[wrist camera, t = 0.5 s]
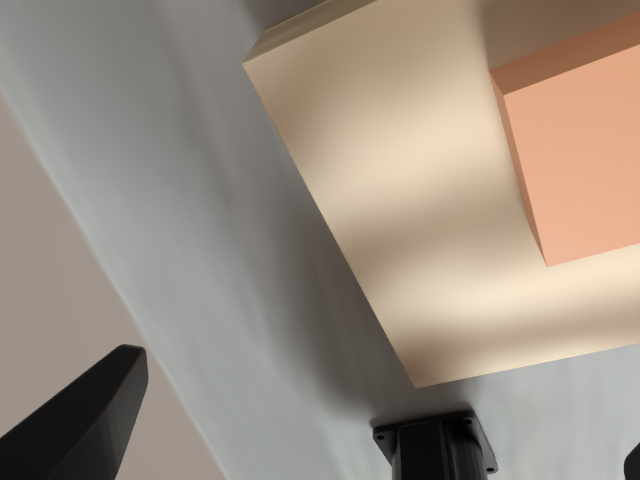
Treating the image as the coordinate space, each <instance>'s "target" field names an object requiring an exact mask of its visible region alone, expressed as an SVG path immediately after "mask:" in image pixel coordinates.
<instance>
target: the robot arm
mask: <svg viewBox="0 0 640 480" xmlns="http://www.w3.org/2000/svg"><path fill="white" fill-rule="evenodd" d="M147 385H148V366H147V355H146V350H145V349H144V348H143V347H140V346H134V345H128V344H122V345H120V346H118V347H116V348H115V349H114V350H112V351H111V352H110V353H109V354H108V355H106V356H105V357H104V358H102V359H101V360H100V361H98V362H97V363H96V364H95V365H93V366H92V367H91V368H89V369H88V370H87V371H86V372H84V373H83V374H82V375H80V376H79V377H78V378H77V379H75V380H74V381H73V382H71V383H70V384H69V385H68V386H66V387H65V388H64V389H62V390H61V391H60V392H59V393H57V394H56V395H55V396H53V397H52V398H51V399H50V400H48V401H47V402H46V403H44V404H43V405H42V406H41V407H39V408H38V409H37V410H35V411H34V412H33V413H32V414H30V415H29V416H28V417H27V418H25V419H24V420H23V421H21V422H20V423H19V424H18V425H16V426H15V427H14V428H12V429H11V430H10V431H9V432H7V433H6V434H5V435H3V436H2V437H1V438H0V480H115V478H116V475H117V473H118V470H119V467H120V465H121V462H122V459H123V456H124V453H125V451H126V447H127V445H128V442H129V439H130V436H131V433H132V430H133V427H134V424H135V421H136V418H137V415H138V413H139V409H140V407H141V404H142V401H143V398H144V395H145V392H146V389H147ZM373 439H374V441H375V442H376V444H377V445H378V447H379V448H380V450H381V451H382V453H383V454H384V456H385V457H386V459H387V460H388V462H389V463H390V465H391V466H392V480H488V478H487V474H493V473H496V472H497V471H498V466H497V462H496V460H495V458H494V455H493V453H492V451H491V449H490V447H489V444H488V442H487V440H486V438H485V435H484V433H483V431H482V429H481V427H480V424H479V422H478V420H477V418H476V416H475V414H474V413H473V412H470V411H463V412H458V413H453V414H447V415H442V416H436V417H431V418H425V419H420V420H414V421H409V422H404V423H398V424H393V425H387V426H382V427H377V428H375V429H373ZM624 475H625V480H640V443H639V444H638V445H637V446H636V447H635V448H634V449H633V450H632V451H631V452H630V453H629V455H628V456H627V457H626V459H625V461H624Z"/></svg>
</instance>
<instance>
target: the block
mask: <svg viewBox="0 0 640 480" xmlns="http://www.w3.org/2000/svg"><path fill="white" fill-rule="evenodd" d="M489 74H490V78H491V82H492V85H493V89H494V93H495V97H496V101H497V104H498V108H499V112H500V116H501V120H502V123H503V127H504V131H505V135H506V138H507V142H508V146H509V150H510V154H511V157H512V161H513V165H514V169H515V172H516V176H517V180H518V184H519V188H520V191H521V195H522V199H523V203H524V207H525V210H526V214H527V218H528V222H529V225H530V229H531V232H532V234H533V237H534V239H535V241H536V243H537V246H538V248H539V250H540V252H541V255H542V257H543V259H544V261H545V264H546V266H547V267H550V266H554V265H558V264H562V263H566V262H570V261H573V260H577V259H581V258H585V257H589V256H593V255H596V254H600V253H604V252H608V251H612V250H615V249H619V248H623V247H627V246H631V245H635V244H638V243H640V11H639V12H636V13H634V14H631V15H629V16H626V17H624V18H621V19H618V20H616V21H613V22H611V23H608V24H606V25H603V26H601V27H598V28H596V29H593V30H590V31H588V32H585V33H583V34H580V35H578V36H575V37H573V38H570V39H568V40H565V41H563V42H560V43H557V44H555V45H552V46H550V47H547V48H545V49H542V50H540V51H537V52H535V53H532V54H530V55H527V56H524V57H522V58H519V59H517V60H514V61H512V62H509V63H507V64H504V65H502V66H499V67H497V68H494V69H491V70H489Z"/></svg>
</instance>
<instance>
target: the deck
mask: <svg viewBox="0 0 640 480" xmlns="http://www.w3.org/2000/svg"><path fill="white" fill-rule="evenodd" d="M639 11H640V0H326V1H324V2H322V3H320V4H318V5H316V6H314V7H312V8H310V9H308V10H306V11H304V12H302V13H300V14H298V15H296V16H294V17H292V18H289V19H287V20H285V21H283V22H281V23H279V24H277V25H275V26H273V27H271V28H269V29H267V30H265V31H264V33H263V34H262V36H261V37H260V39H259V40H258V41H257V43H256V44H255V46H254V47H253V49H252V50H251V51H250V53H249V54H248V56H247V57H246V59H245V60H244V61H243V63H242V66H243V68H244V70H245V71H246V73H247V75H248V77H249V79H250V81H251V83H252V85H253V86H254V88H255V90H256V92H257V94H258V96H259V98H260V99H261V101H262V103H263V105H264V107H265V109H266V111H267V113H268V114H269V116H270V118H271V120H272V122H273V124H274V126H275V128H276V129H277V131H278V133H279V135H280V137H281V139H282V141H283V143H284V144H285V146H286V148H287V150H288V152H289V154H290V156H291V158H292V159H293V161H294V163H295V165H296V167H297V169H298V171H299V173H300V174H301V176H302V178H303V180H304V182H305V184H306V186H307V187H308V189H309V191H310V193H311V195H312V197H313V199H314V201H315V202H316V204H317V206H318V208H319V210H320V212H321V214H322V216H323V217H324V219H325V221H326V223H327V225H328V227H329V229H330V231H331V232H332V234H333V236H334V238H335V240H336V242H337V244H338V246H339V247H340V249H341V251H342V253H343V255H344V257H345V259H346V261H347V262H348V264H349V266H350V268H351V270H352V272H353V274H354V275H355V277H356V279H357V281H358V283H359V285H360V287H361V289H362V290H363V292H364V294H365V296H366V298H367V300H368V302H369V304H370V305H371V307H372V309H373V311H374V313H375V315H376V317H377V319H378V320H379V322H380V324H381V326H382V328H383V330H384V332H385V334H386V335H387V337H388V339H389V341H390V343H391V345H392V347H393V349H394V350H395V352H396V354H397V356H398V358H399V360H400V362H401V363H402V365H403V367H404V369H405V371H406V373H407V375H408V377H409V378H410V380H411V382H412V384H413V386H414V388H415V389H416V388H421V387H426V386H431V385H436V384H441V383H446V382H451V381H455V380H460V379H465V378H470V377H475V376H480V375H485V374H490V373H494V372H499V371H504V370H509V369H514V368H519V367H524V366H529V365H534V364H538V363H543V362H548V361H553V360H558V359H563V358H568V357H573V356H578V355H582V354H587V353H592V352H597V351H602V350H607V349H612V348H617V347H621V346H626V345H631V344H636V343H640V243H638V244H635V245H631V246H627V247H623V248H619V249H615V250H612V251H608V252H604V253H600V254H596V255H593V256H589V257H585V258H581V259H577V260H573V261H570V262H566V263H562V264H558V265H554V266H550V267H547V266H546V264H545V261H544V259H543V257H542V255H541V252H540V250H539V248H538V246H537V243H536V241H535V239H534V237H533V234H532V232H531V229H530V225H529V222H528V218H527V214H526V210H525V207H524V203H523V199H522V195H521V191H520V188H519V184H518V180H517V176H516V172H515V169H514V165H513V161H512V157H511V154H510V150H509V146H508V142H507V138H506V135H505V131H504V127H503V123H502V120H501V116H500V112H499V108H498V104H497V101H496V97H495V93H494V89H493V85H492V82H491V78H490V74H489V70H491V69H494V68H497V67H499V66H502V65H504V64H507V63H509V62H512V61H514V60H517V59H519V58H522V57H524V56H527V55H530V54H532V53H535V52H537V51H540V50H542V49H545V48H547V47H550V46H552V45H555V44H557V43H560V42H563V41H565V40H568V39H570V38H573V37H575V36H578V35H580V34H583V33H585V32H588V31H590V30H593V29H596V28H598V27H601V26H603V25H606V24H608V23H611V22H613V21H616V20H618V19H621V18H624V17H626V16H629V15H631V14H634V13H636V12H639Z"/></svg>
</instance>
